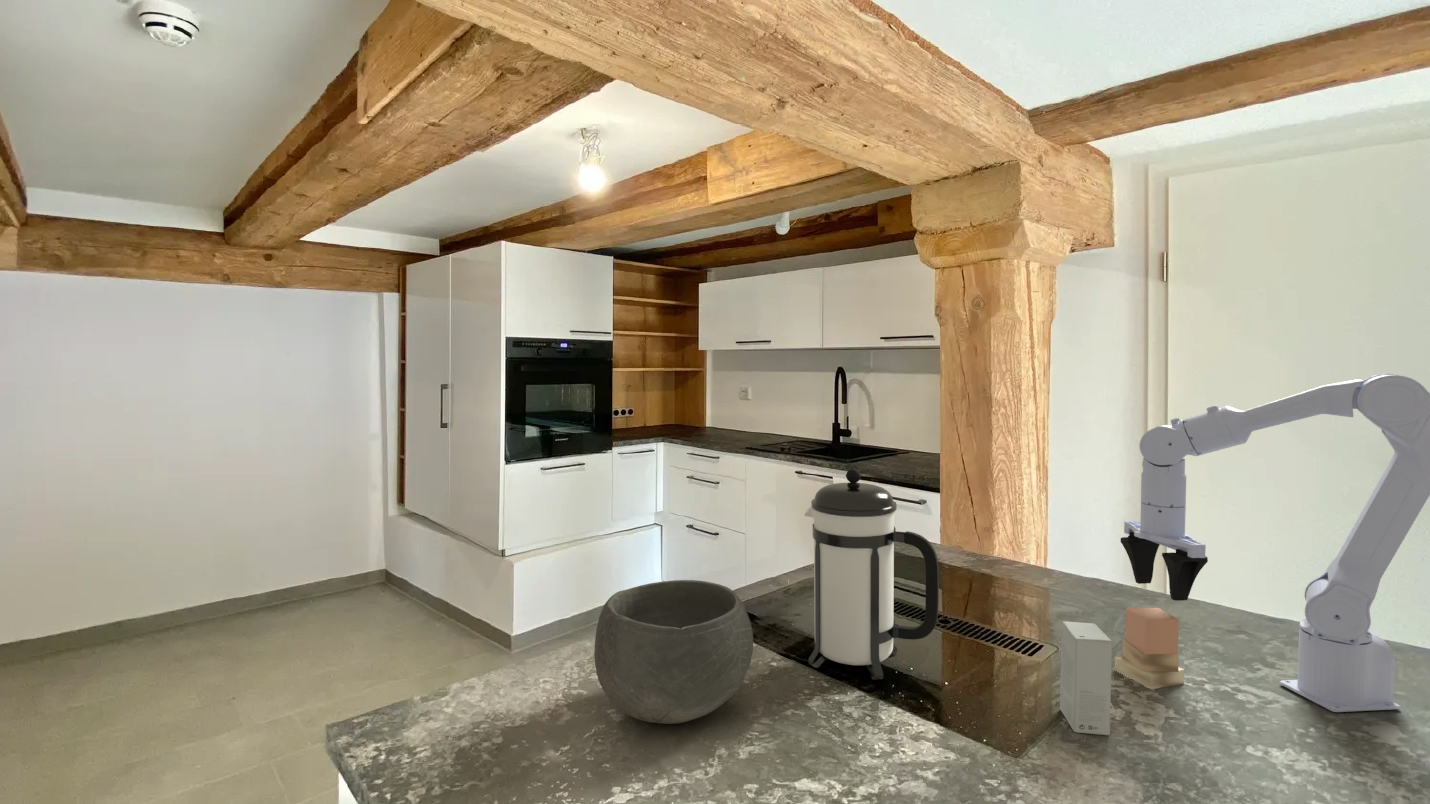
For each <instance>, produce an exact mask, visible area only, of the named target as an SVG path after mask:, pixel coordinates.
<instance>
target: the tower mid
mask: <svg viewBox="0 0 1430 804" xmlns="http://www.w3.org/2000/svg"><path fill="white" fill-rule="evenodd" d="M1121 652H1122V655H1121V657H1122V656H1123V657H1124V658H1126V659H1127V660H1128V661H1130V662H1131V663H1132V664H1133V665H1135V666H1136V667H1137V668H1138V669H1140V670H1141V671H1162V672H1178V667H1179V661H1180V660H1179V658H1180V657H1179V656H1180V654H1179V653H1178V654H1144V653H1143V652H1141V651H1140V650H1138V649H1137V648H1135V647H1134V646H1132V645H1131V644H1129V643H1128V642H1127V641H1126V638H1125V639H1124V638H1123V639H1122V651H1121Z"/></svg>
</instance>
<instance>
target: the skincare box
mask: <svg viewBox="0 0 1430 804" xmlns="http://www.w3.org/2000/svg"><path fill="white" fill-rule="evenodd" d="M1060 643H1061V645H1060V646H1061V648H1060V649H1061V650H1060V651H1061V652H1060V689H1059V690H1060V691H1059V692H1060V695H1059V696H1060V697H1059V709H1060V712H1061V713H1062V715H1063V716H1064V717H1065V719H1066V720H1067V722H1068V725H1070V727H1071V729H1072V732H1074V733H1078V734H1091V735H1102V736H1110V734H1111V700H1112V698H1111V696H1112V693H1111V692H1112V659H1113V658H1112V654H1113V653H1112V652H1113V651H1112V650H1113V649H1112V648H1113V641H1112V640H1111V639H1110V638H1109V636H1107V635H1106V633H1105V632H1104V631H1102V629H1100V627H1099V626H1098V625H1096V623H1093V622H1092V623H1091V622H1079V621H1078V622H1077V621H1066V620H1065V621H1064V620H1063V621H1062V622H1061V642H1060Z"/></svg>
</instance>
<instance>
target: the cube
mask: <svg viewBox="0 0 1430 804" xmlns="http://www.w3.org/2000/svg"><path fill="white" fill-rule="evenodd" d="M1125 610H1126V612H1125V639H1126V641H1127V642H1128V643H1129V644H1131V645H1132V646H1134V647H1135V648H1137V649H1138V650H1140V651H1141V652H1143V653H1144V654H1179V631H1180V630H1179V629H1180V628H1179V625H1180V623H1179V622H1180V619H1179V618H1177V617H1175V616H1173V615H1172V614H1170V613H1169V612H1166V611H1165V610H1162V609H1161V608H1159V607H1126V609H1125Z"/></svg>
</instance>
